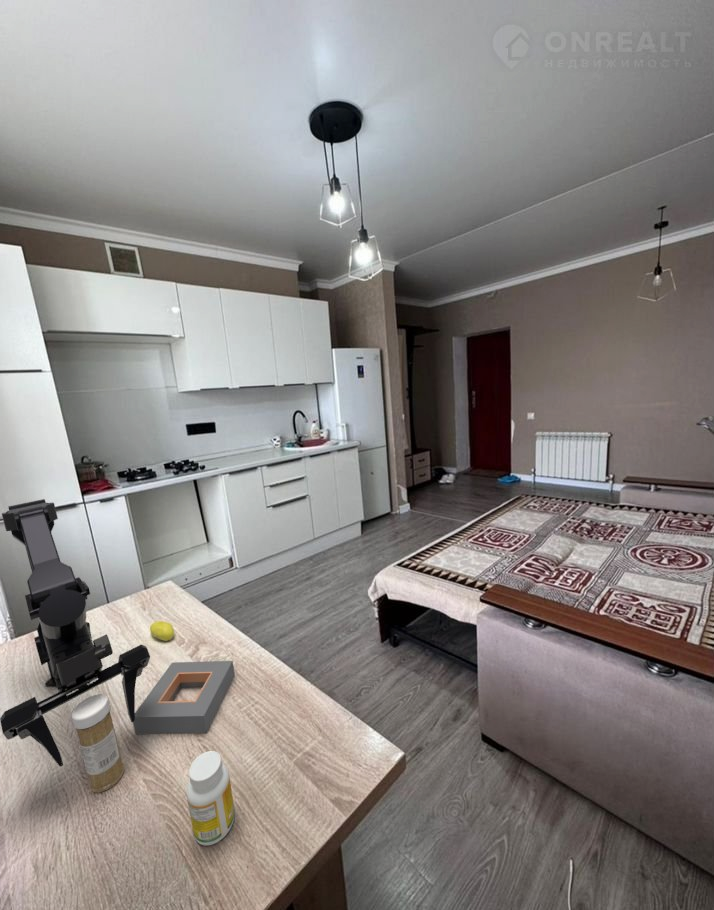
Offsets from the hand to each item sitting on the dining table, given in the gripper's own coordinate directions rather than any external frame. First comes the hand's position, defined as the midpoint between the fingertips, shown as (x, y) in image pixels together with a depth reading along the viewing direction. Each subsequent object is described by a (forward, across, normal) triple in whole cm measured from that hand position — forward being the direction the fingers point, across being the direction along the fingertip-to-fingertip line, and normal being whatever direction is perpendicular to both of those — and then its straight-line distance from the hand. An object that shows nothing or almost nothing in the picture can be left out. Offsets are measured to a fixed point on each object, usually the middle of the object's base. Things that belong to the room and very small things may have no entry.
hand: (99, 742), depth 56 cm
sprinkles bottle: (+5, 0, +6) cm, 8 cm away
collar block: (+1, +14, +9) cm, 17 cm away
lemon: (-17, +18, +28) cm, 37 cm away
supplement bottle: (+18, +9, -8) cm, 22 cm away
